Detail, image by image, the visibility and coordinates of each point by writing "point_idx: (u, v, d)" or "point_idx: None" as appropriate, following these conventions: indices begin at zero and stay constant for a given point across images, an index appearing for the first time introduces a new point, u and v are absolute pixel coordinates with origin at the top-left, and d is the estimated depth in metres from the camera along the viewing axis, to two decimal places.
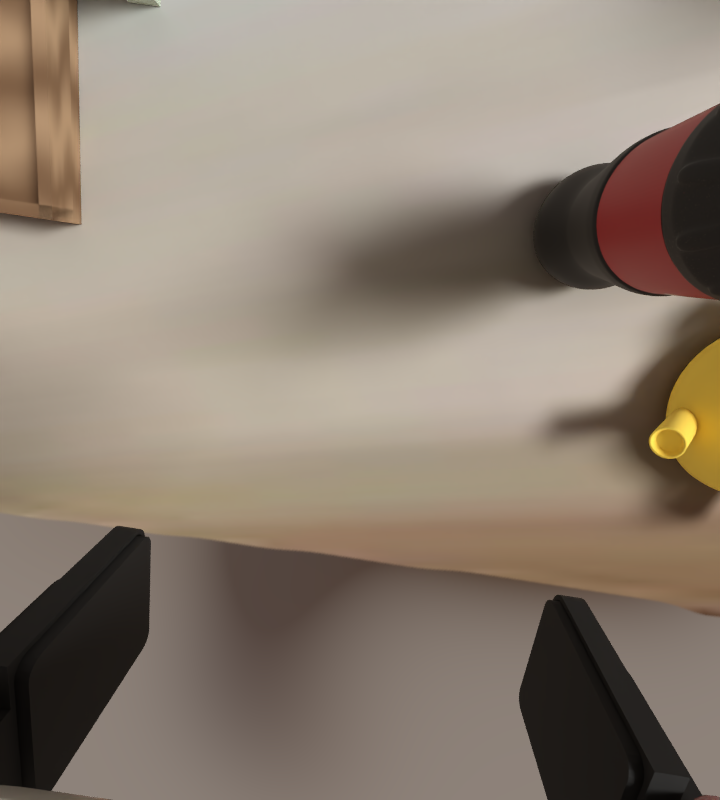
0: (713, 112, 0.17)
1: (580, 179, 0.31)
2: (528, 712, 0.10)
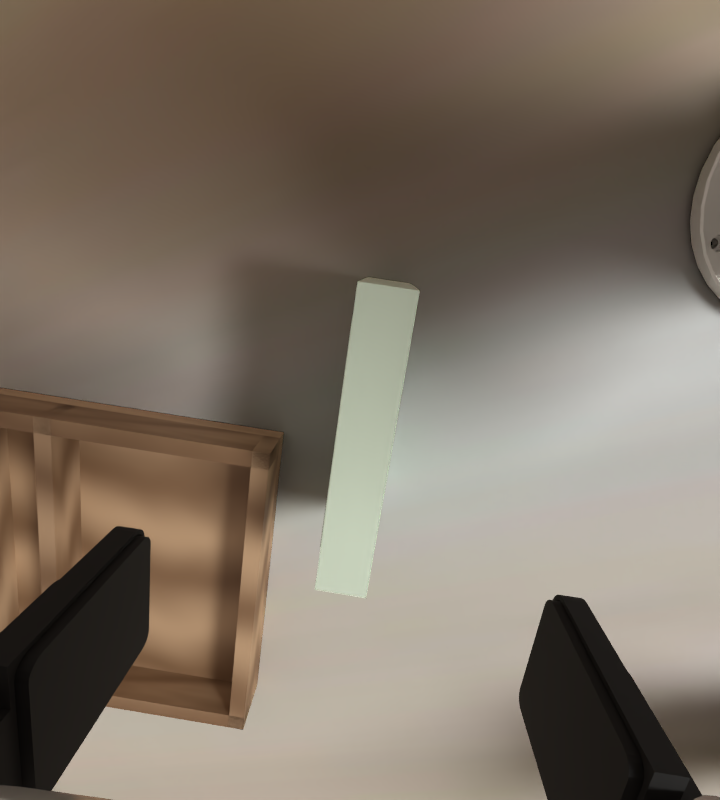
0: None
1: None
2: (528, 712, 0.10)
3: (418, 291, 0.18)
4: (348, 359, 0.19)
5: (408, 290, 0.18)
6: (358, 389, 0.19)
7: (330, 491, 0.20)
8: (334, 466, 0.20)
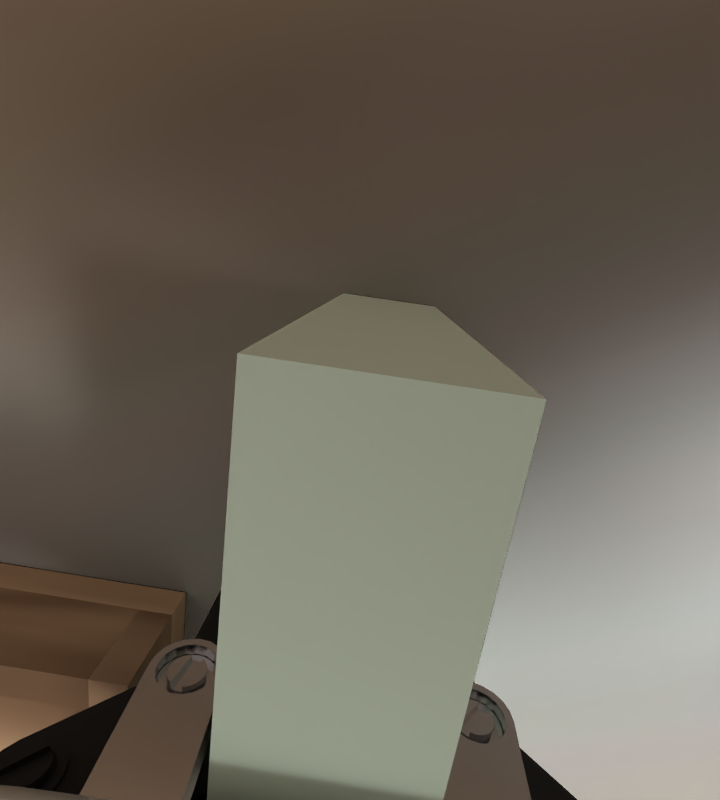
0: None
1: None
2: None
3: (538, 402, 0.04)
4: (223, 666, 0.05)
5: (489, 398, 0.04)
6: (271, 771, 0.05)
7: None
8: None
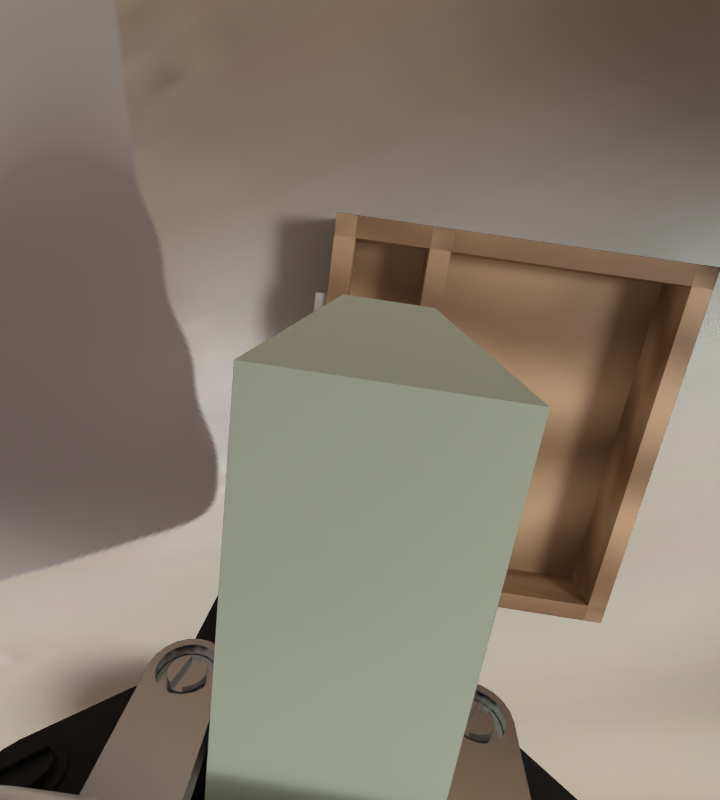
0: None
1: None
2: None
3: (541, 409, 0.04)
4: (220, 677, 0.04)
5: (491, 405, 0.04)
6: (269, 781, 0.05)
7: None
8: None
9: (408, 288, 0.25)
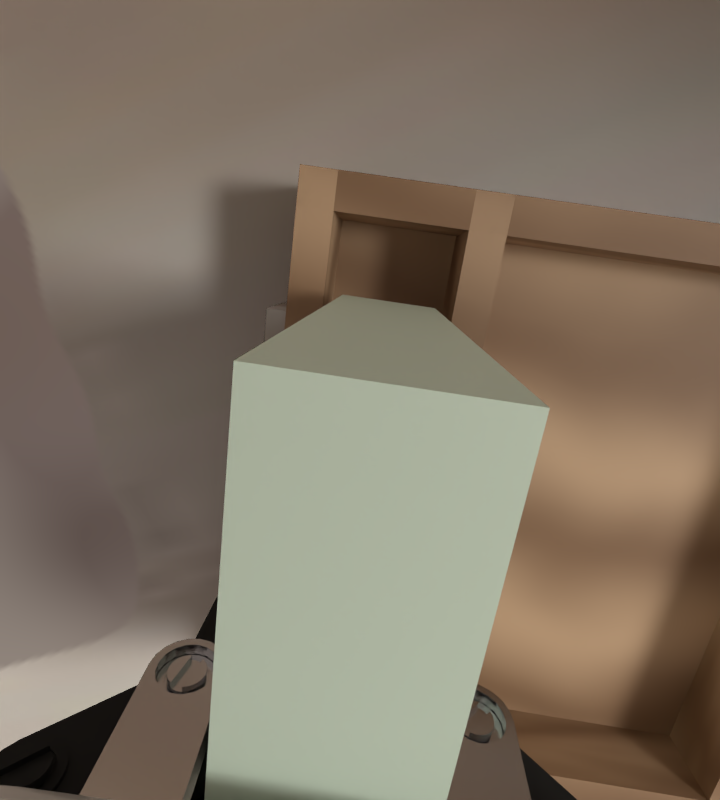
0: None
1: None
2: None
3: (541, 410, 0.04)
4: (220, 678, 0.04)
5: (491, 406, 0.04)
6: (268, 782, 0.05)
7: None
8: None
9: (426, 299, 0.15)
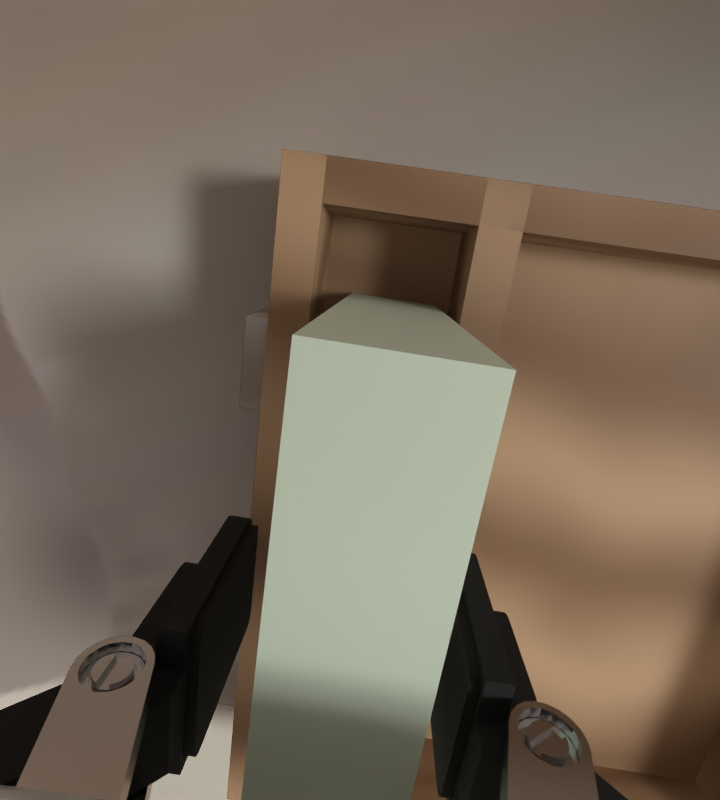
0: None
1: None
2: None
3: (510, 371, 0.05)
4: (271, 577, 0.06)
5: (474, 368, 0.05)
6: (304, 661, 0.06)
7: None
8: None
9: None
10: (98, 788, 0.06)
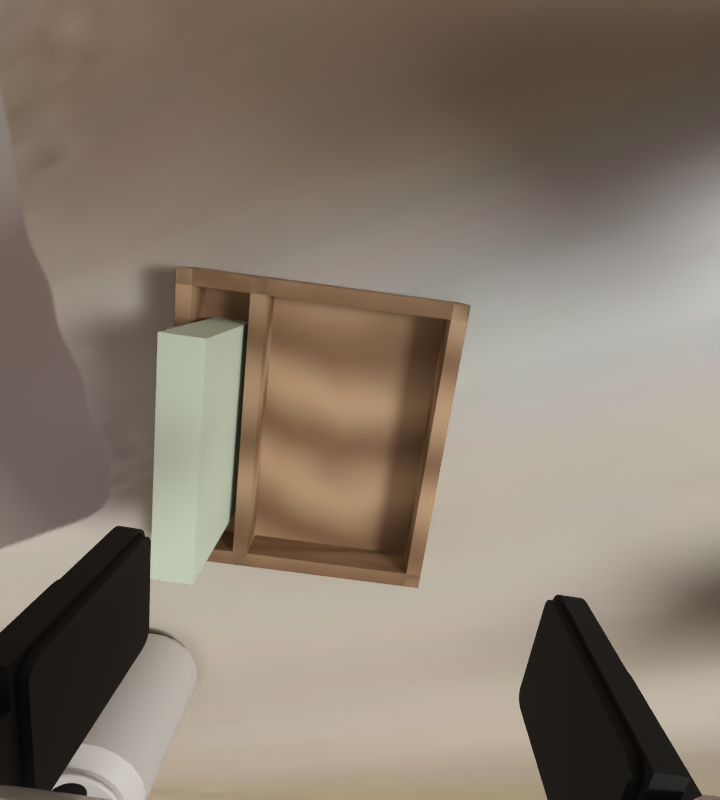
0: None
1: None
2: (528, 712, 0.10)
3: (205, 339, 0.23)
4: (157, 391, 0.24)
5: (197, 338, 0.23)
6: (167, 415, 0.24)
7: (154, 497, 0.25)
8: (155, 477, 0.25)
9: None
10: None
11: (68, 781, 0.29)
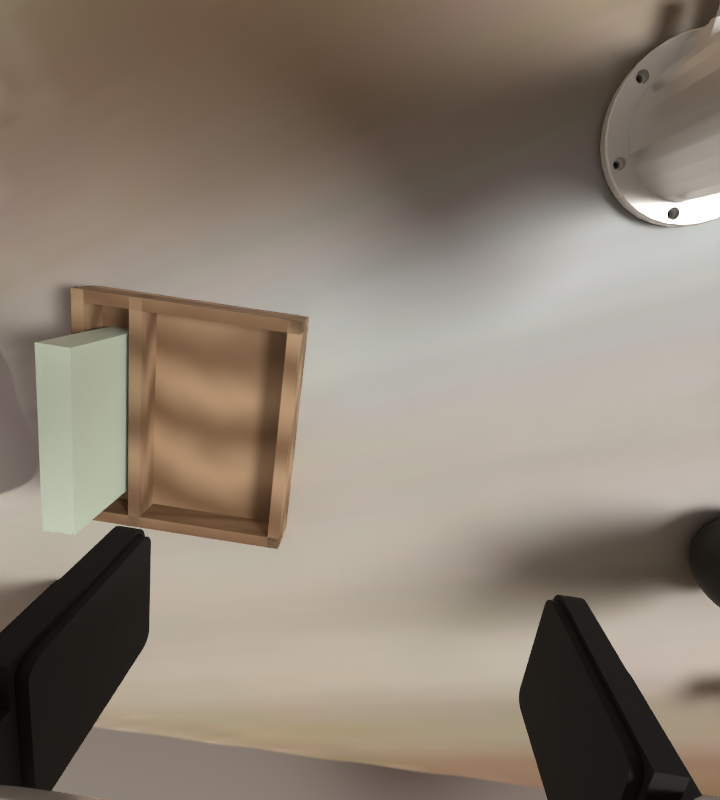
0: None
1: None
2: (528, 712, 0.10)
3: (70, 348, 0.31)
4: (37, 387, 0.32)
5: (63, 347, 0.31)
6: (46, 405, 0.32)
7: (41, 466, 0.33)
8: (40, 451, 0.33)
9: None
10: None
11: None
